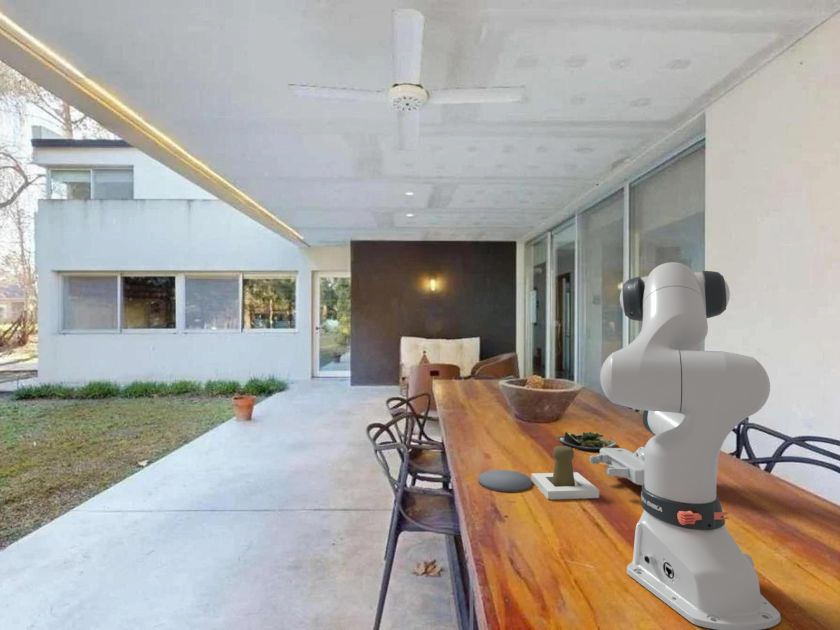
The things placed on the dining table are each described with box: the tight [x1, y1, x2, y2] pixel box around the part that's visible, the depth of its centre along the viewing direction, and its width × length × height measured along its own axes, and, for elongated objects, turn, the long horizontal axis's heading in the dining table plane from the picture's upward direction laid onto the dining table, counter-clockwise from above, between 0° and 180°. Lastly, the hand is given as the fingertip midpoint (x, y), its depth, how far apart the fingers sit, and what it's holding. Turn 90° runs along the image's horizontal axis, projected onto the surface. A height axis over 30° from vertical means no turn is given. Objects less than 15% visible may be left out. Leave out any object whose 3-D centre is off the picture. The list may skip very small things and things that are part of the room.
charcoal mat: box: [478, 469, 532, 493], centre depth 126 cm, size 14×14×1 cm
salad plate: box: [555, 431, 617, 453], centre depth 164 cm, size 19×18×5 cm
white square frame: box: [530, 471, 600, 500], centre depth 121 cm, size 13×13×2 cm
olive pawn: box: [552, 445, 575, 487], centre depth 121 cm, size 6×6×11 cm
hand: (598, 465), depth 122 cm, fingers open, 8 cm apart
